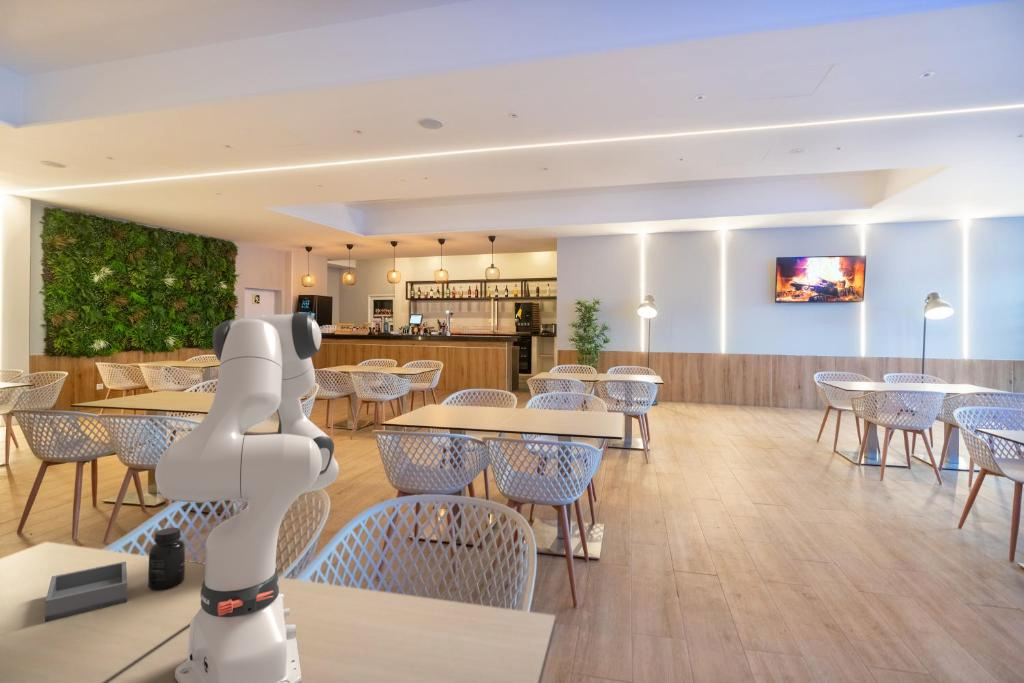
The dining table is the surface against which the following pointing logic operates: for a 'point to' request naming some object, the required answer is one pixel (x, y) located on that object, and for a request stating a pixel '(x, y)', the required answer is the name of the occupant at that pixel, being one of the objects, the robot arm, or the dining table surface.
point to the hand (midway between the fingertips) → (221, 493)
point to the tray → (86, 590)
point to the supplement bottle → (166, 560)
